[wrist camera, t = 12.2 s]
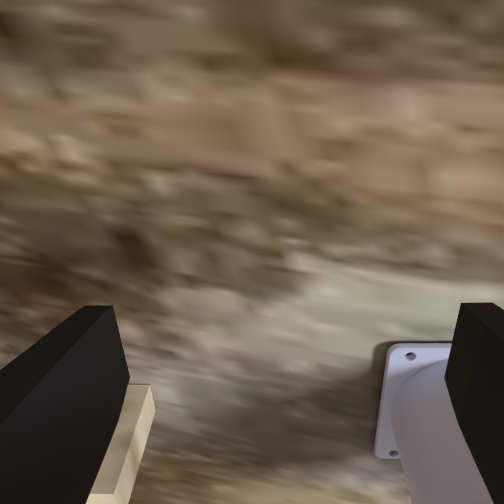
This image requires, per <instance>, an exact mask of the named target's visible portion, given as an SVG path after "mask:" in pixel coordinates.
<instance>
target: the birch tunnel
mask: <svg viewBox="0 0 504 504" xmlns="http://www.w3.org/2000/svg"><path fill="white" fill-rule="evenodd" d="M154 415H155V406H154V401H153V397H152V392H151V387H150V385H128V386H127V391H126V395H125V399H124V403H123V406H122V410H121V414H120V417H119V421H118V424H117V426H116V429H115V432H114V434H113V437H112V439H111V442H110V444H109V447H108V449H107V452H106V454H105V457H104V460H103V462H102V465H101V467H100V470H99V472H98V474H97V477H96V479H95V482H94V484H93V487H92V489H91V492H90V494H89V497H88V499H87V502H86V504H128V503H129V499H130V496H131V493H132V489H133V486H134V482H135V479H136V476H137V472H138V469H139V466H140V462H141V459H142V455H143V452H144V449H145V445H146V442H147V438H148V435H149V432H150V428H151V425H152V421H153V418H154Z"/></svg>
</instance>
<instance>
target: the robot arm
mask: <svg viewBox="0 0 504 504" xmlns="http://www.w3.org/2000/svg"><path fill="white" fill-rule="evenodd" d="M410 352H412V354H411V355H406V354H407V353H410ZM129 378H130V375H129V371H128V367H127V363H126V359H125V355H124V350H123V346H122V342H121V338H120V334H119V330H118V326H117V322H116V317H115V313H114V309H113V305H111V306H84V307H82V308H81V309H79V310H78V311H76V312H75V313H74V314H72V315H71V316H70V317H68V318H67V319H66V320H64V321H63V322H62V323H60V324H59V325H58V326H57V327H55V328H54V329H53V330H52V331H50V332H49V333H48V334H46V335H45V336H44V337H43V338H41V339H40V340H39V341H37V342H36V343H35V344H34V345H32V346H31V347H30V348H28V349H27V350H26V351H25V352H23V353H22V354H21V355H19V356H18V357H17V358H15V359H14V360H13V361H12V362H10V363H9V364H8V365H6V366H5V367H4V368H2V369H1V370H0V504H86V502H87V499H88V497H89V494H90V492H91V489H92V487H93V484H94V482H95V479H96V477H97V474H98V472H99V470H100V467H101V465H102V462H103V460H104V457H105V454H106V452H107V449H108V447H109V444H110V442H111V439H112V437H113V434H114V432H115V429H116V426H117V424H118V421H119V417H120V414H121V410H122V406H123V403H124V399H125V395H126V391H127V386H128V382H129ZM374 450H375V455H376V456H377V457H379V458H382V459H401V463H402V466H403V470H404V474H405V477H406V481H407V485H408V488H409V492H410V496H411V500H412V503H413V504H504V310H503V309H502V308H500V307H499V306H497V305H495V304H494V303H461V305H460V310H459V314H458V319H457V323H456V327H455V332H454V336H453V340H452V343H407V344H394V345H392V346H391V347H390V348H389V349H388V351H387V357H386V364H385V372H384V379H383V386H382V393H381V401H380V408H379V415H378V423H377V430H376V437H375V444H374Z"/></svg>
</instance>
